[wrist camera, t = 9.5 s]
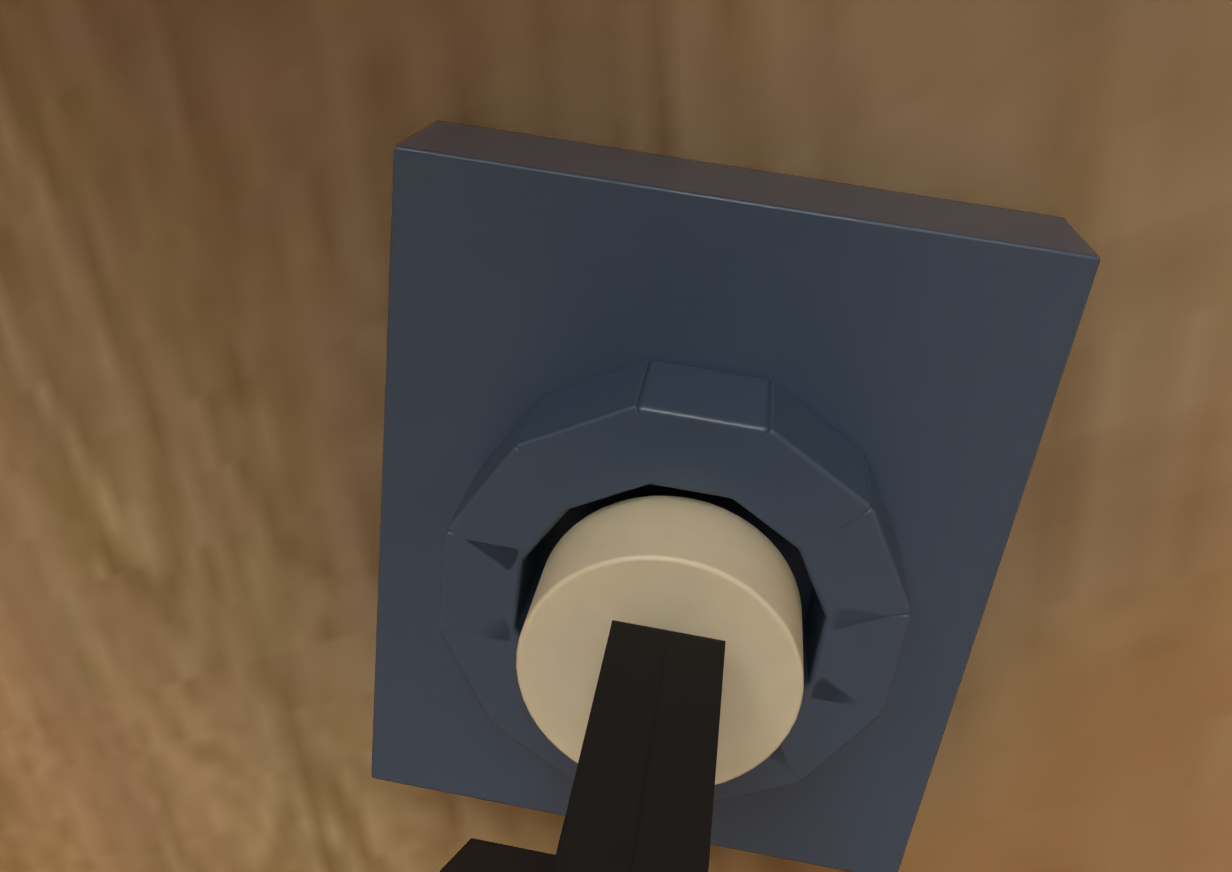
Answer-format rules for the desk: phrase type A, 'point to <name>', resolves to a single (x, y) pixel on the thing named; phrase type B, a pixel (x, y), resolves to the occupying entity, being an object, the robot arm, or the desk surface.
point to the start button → (667, 618)
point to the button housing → (705, 445)
